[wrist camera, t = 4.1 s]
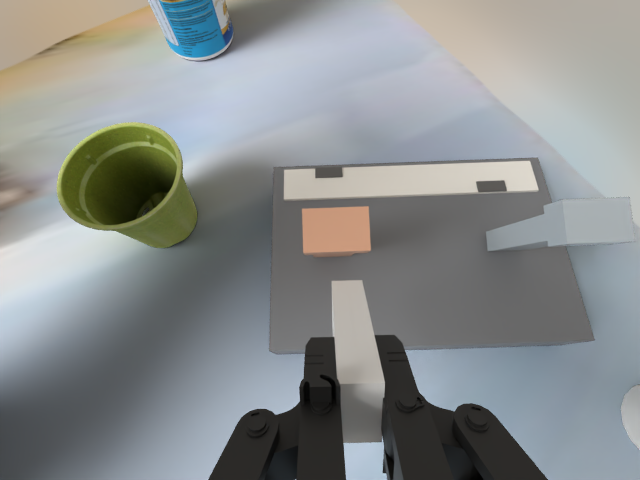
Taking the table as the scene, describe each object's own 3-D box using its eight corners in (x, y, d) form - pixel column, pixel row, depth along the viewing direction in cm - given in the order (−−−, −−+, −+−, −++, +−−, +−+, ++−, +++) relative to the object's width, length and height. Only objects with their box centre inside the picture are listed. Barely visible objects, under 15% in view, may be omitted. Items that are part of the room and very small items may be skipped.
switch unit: (276, 354, 29) (268, 350, 25) (279, 189, 35) (272, 164, 31) (560, 345, 29) (599, 339, 25) (515, 180, 35) (540, 154, 31)
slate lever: (484, 256, 28) (567, 243, 18) (481, 226, 28) (562, 199, 19) (529, 255, 28) (635, 241, 18) (526, 225, 28) (629, 196, 19)
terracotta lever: (310, 262, 28) (303, 252, 19) (309, 233, 28) (302, 208, 19) (355, 260, 28) (370, 250, 18) (353, 231, 28) (368, 206, 19)
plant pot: (228, 189, 36) (199, 133, 28) (194, 275, 32) (149, 241, 24) (145, 171, 37) (93, 112, 29) (103, 253, 33) (31, 213, 25)
